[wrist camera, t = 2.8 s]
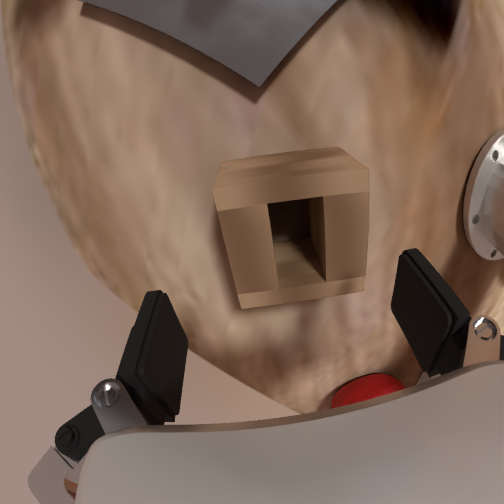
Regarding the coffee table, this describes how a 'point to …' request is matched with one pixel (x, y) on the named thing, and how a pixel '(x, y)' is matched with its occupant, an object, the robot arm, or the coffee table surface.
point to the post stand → (229, 27)
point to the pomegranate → (366, 389)
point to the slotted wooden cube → (301, 250)
